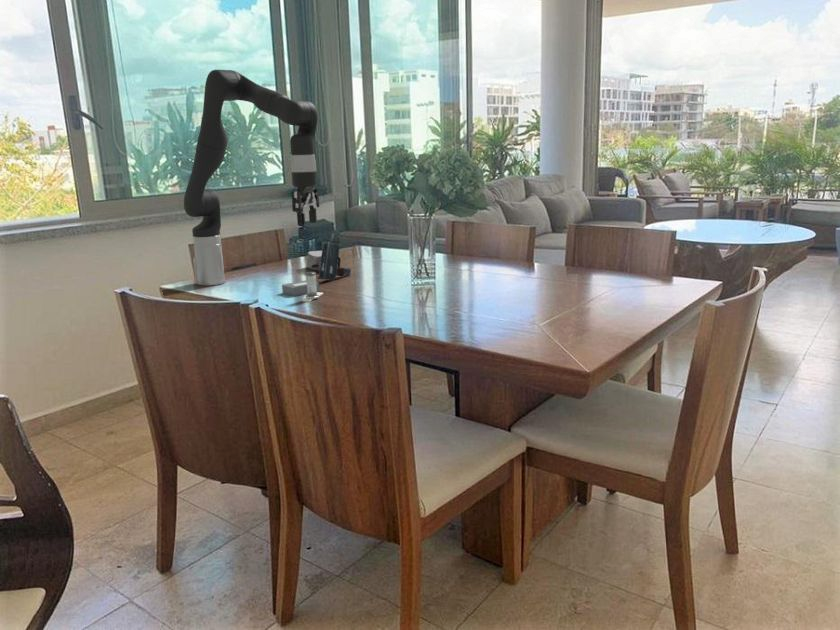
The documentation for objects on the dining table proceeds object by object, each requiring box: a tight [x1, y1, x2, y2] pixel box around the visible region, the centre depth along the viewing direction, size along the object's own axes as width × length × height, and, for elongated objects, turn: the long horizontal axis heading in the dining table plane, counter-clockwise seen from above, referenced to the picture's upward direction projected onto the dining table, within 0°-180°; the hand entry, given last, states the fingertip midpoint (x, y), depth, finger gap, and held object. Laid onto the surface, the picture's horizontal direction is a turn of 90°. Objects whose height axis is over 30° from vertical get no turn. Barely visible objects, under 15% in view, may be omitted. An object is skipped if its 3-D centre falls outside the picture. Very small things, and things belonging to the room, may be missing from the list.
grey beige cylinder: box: [305, 271, 320, 300], centre depth 205 cm, size 4×4×8 cm
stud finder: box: [281, 280, 321, 297], centre depth 215 cm, size 7×10×4 cm
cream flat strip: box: [301, 291, 324, 303], centre depth 207 cm, size 2×11×1 cm, turn 165°
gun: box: [317, 232, 352, 281], centre depth 234 cm, size 3×17×15 cm
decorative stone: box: [306, 250, 322, 273], centre depth 254 cm, size 15×7×10 cm
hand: (307, 224), depth 200 cm, fingers open, 8 cm apart
